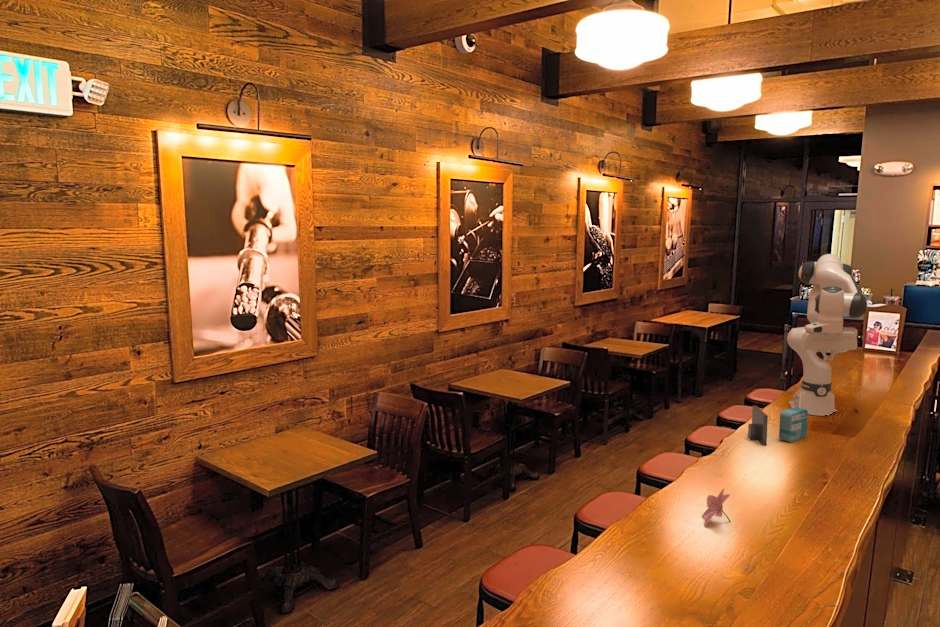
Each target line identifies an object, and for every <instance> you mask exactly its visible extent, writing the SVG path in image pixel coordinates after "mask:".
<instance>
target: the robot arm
mask: <svg viewBox="0 0 940 627" xmlns="http://www.w3.org/2000/svg"><path fill="white" fill-rule="evenodd" d="M798 278H799V281H800V282H801V283H803V284H807V285H813V287H812V288H811V290H810V292H809V296H808V302H807V313H806V318H807V320H808V322H809V324H806V325H805V326H801V327H799V326H798V327H793V328H791V330H789V332H788V333H787V337H786V342H787V344H788V346H789V347H790V348H791V349H792V350H793V351H795V352H796V353H797V355H799V357H800V359H801V362H802V368H803V370H802V371H803V372H802V373H803V375H802V376H803V377H802V380H801V383H800V384H801V385H800V388H798V389H797V391H795V392H794V394H792V400H789V401H788V404H789V406H790V407H791V408H794V407H798V408H802V409H806V410H807V411H808V415H811V416H822V417H823V416H824V417H825V415H827V416H831V415H830V414H832V413H833V412H835V411H837V412H838V409H836V408H835V394H834V393H833V392H832V390H833V389H832V387H833V385H832V384H833V383H832V382H831V381H832V366H831V363H829V362H828V361H830V362H832V361H833V360H834V356H835V355H836V354H839V353H846V352H848V351H855V350H856V349H857V348H858V329H857V328H856V327H853V326H844V317H846V318H847V317H848V318H855V319H856V318H857V319H859V318H861V317H863V316H864V315H865V314H866V313H867V311H868V310H867V309H868V300H867V297H866V296H865V295H864V293H862V291H861V288H860V286H859V285H858V283H857V281H856V279H855V277H854V271H853V267H852V266H851V264H846V263H842V261H841V259H840V258H839V257H838V256H837V255H835V254H832V253H826V254H823V255H821V256H820V257H819V258H817V261H812V260H811V261H806V262H803V263H802V264H801V266H800V267H799V268H798ZM817 353H821V354H822V356H823V358H820V357H819V355H817ZM826 353H827V354H828V353H829V354H830V355H827V354H826ZM791 408H790V409H791ZM833 414H834V413H833ZM833 414H832V415H833Z"/></svg>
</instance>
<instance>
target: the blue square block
mask: <svg viewBox="0 0 940 627" xmlns="http://www.w3.org/2000/svg"><path fill="white" fill-rule="evenodd" d="M808 415H809V414H808V411H807V410H806V409H802V408H798V407H794V408H788V409H783V410H782V411H780V415H779V429H778V432H779V433H778V438H779V440H781V439H782V440H781V441H784V440H785V441H784V442H787V441H788V442H787V443H793V441H794V442H797V441H799V440H802V439H805V438H806V437H807V434H808V417H809V416H808Z"/></svg>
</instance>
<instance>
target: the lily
mask: <svg viewBox="0 0 940 627" xmlns="http://www.w3.org/2000/svg"><path fill="white" fill-rule="evenodd" d="M724 491H725V488H723V489H721V490H720V492H719V493H718V495H717V496H715V495H713V494H712V495H711V494H709V495H707V497H706V507H707V509H706V510H705V511H704V512H703V514H702V515H701V517H702V518H703V517H705V518H704V523H703V526H704V527H706V526H707V525H708V523H709V522H710V520H711V519H712V518H713V517H714V516H715V517H718V518H719V517H720V518H722V517H723V514H724V516H726V519H727V520H728V521H729V523H731V520H730V518H729V517H728V515H727V514H726V512H724V510H723V509H724V508H723V504H724V503H725V502H726V500H727V499H728V498H730V497H731V493H730V494H729V493H727V494H724V493H725V492H724Z"/></svg>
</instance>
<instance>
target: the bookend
mask: <svg viewBox="0 0 940 627" xmlns="http://www.w3.org/2000/svg"><path fill="white" fill-rule="evenodd" d="M751 412H752V414H751V415H752V416H751V423H748V424H747V426H748V430H747V438H748V440H749V439H750V440H749V441H757V440H758V443H760V444H761V445H762V446H767V439H768V421H769V420H768V419H769V416H768V415H767V414H766V413H765V412H764V411H763V410H762V409H761V408H760V407H759V406H758V405H752V411H751Z"/></svg>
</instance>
